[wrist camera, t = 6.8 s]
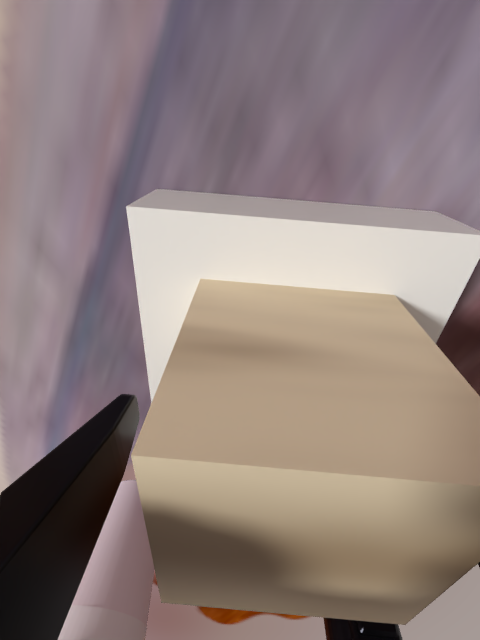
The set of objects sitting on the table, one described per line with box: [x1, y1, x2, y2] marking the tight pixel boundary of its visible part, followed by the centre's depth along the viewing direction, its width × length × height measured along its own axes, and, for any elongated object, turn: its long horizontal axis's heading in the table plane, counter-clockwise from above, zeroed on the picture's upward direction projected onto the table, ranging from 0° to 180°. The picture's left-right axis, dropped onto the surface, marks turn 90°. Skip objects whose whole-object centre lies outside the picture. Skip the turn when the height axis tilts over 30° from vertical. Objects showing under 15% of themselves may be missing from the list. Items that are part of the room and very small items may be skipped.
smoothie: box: [58, 480, 154, 640], centre depth 16 cm, size 6×6×14 cm
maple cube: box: [131, 279, 480, 625], centre depth 8 cm, size 6×6×6 cm
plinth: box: [126, 189, 480, 403], centre depth 12 cm, size 10×10×3 cm
